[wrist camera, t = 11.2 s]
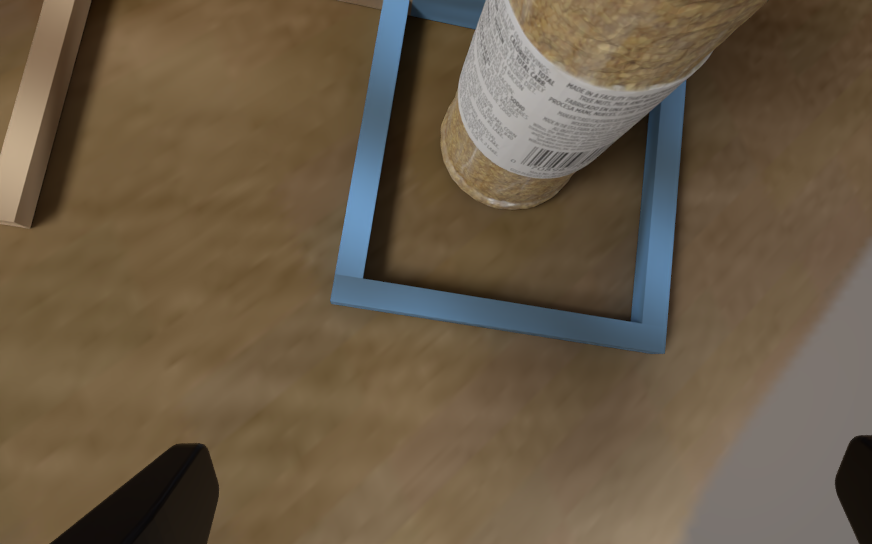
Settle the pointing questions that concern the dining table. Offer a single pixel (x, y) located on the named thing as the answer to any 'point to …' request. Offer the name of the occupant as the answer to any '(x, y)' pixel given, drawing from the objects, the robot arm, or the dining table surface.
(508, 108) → the sprinkles bottle
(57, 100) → the bay rail
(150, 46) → the dining table surface
